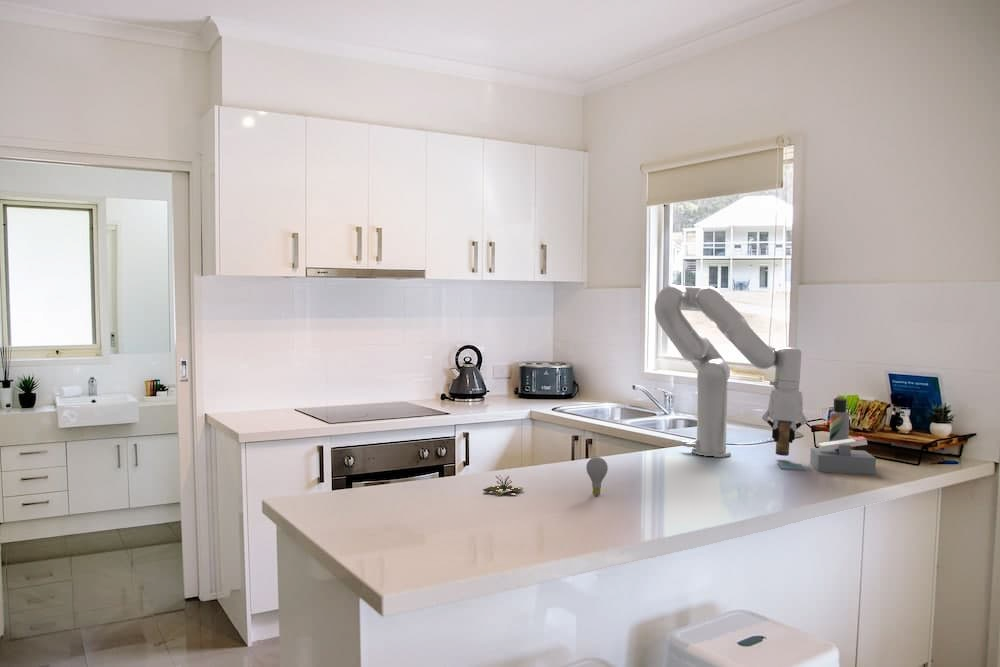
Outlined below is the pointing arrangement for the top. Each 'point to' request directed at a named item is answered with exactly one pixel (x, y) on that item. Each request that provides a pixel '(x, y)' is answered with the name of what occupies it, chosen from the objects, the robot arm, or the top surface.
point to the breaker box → (843, 460)
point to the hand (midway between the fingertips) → (783, 441)
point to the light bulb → (596, 473)
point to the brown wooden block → (783, 438)
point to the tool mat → (791, 466)
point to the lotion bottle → (839, 420)
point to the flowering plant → (502, 487)
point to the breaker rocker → (843, 443)
